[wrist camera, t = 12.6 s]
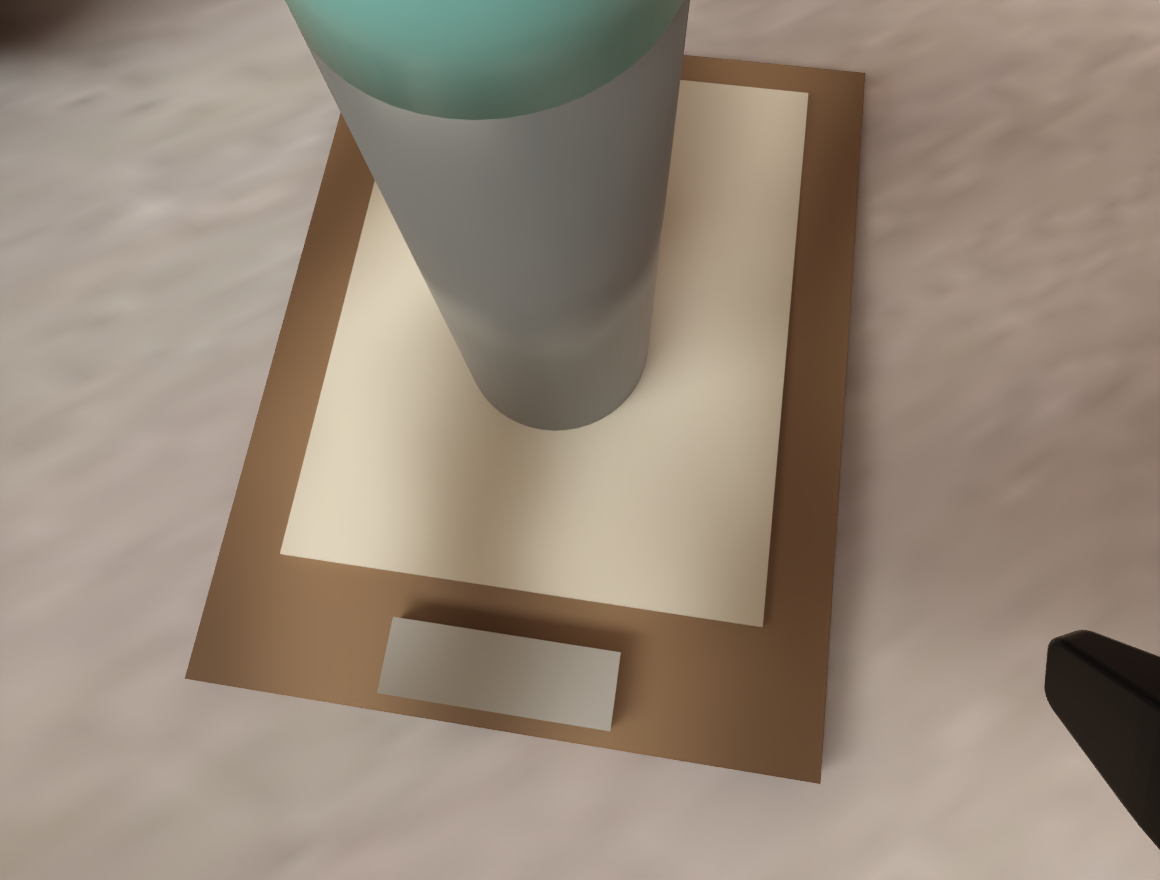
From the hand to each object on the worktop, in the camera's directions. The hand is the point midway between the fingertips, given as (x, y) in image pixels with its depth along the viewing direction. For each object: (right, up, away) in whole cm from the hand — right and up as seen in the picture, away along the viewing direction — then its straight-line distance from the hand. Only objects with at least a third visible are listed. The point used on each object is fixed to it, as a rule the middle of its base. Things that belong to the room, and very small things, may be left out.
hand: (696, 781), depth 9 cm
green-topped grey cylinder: (-2, +6, +10) cm, 12 cm away
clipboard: (-2, +6, +11) cm, 13 cm away
